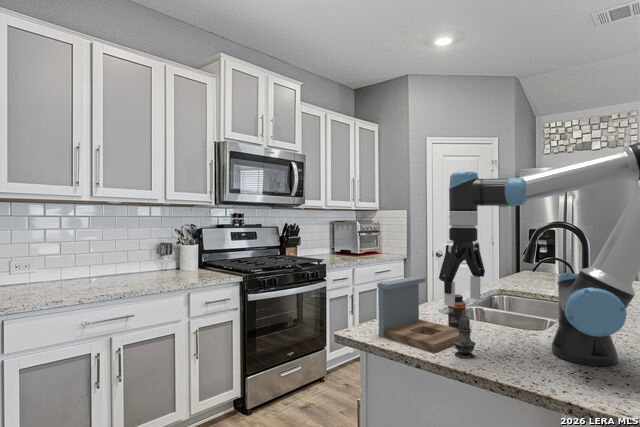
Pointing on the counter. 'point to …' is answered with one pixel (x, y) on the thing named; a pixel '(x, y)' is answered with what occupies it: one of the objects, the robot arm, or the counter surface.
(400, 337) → the socket block
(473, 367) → the counter surface
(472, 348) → the dark grey chess piece
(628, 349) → the counter surface
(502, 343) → the counter surface
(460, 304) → the supplement bottle
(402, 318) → the grey upright panel
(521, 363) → the counter surface
